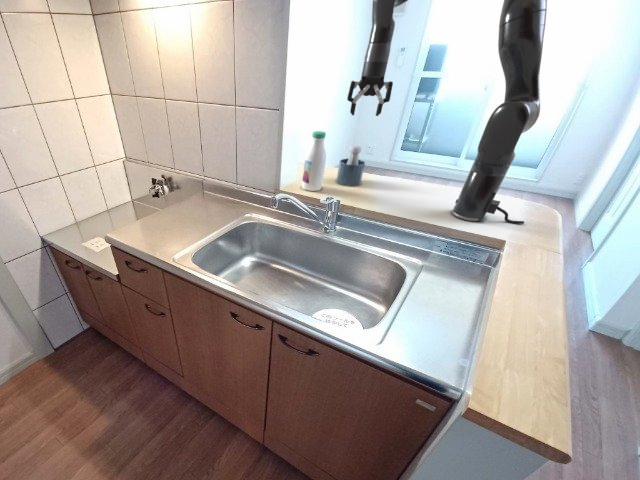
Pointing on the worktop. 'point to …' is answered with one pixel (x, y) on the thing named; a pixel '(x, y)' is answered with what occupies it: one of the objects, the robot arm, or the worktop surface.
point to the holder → (350, 173)
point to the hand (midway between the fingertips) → (364, 115)
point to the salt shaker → (354, 155)
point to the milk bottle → (314, 163)
